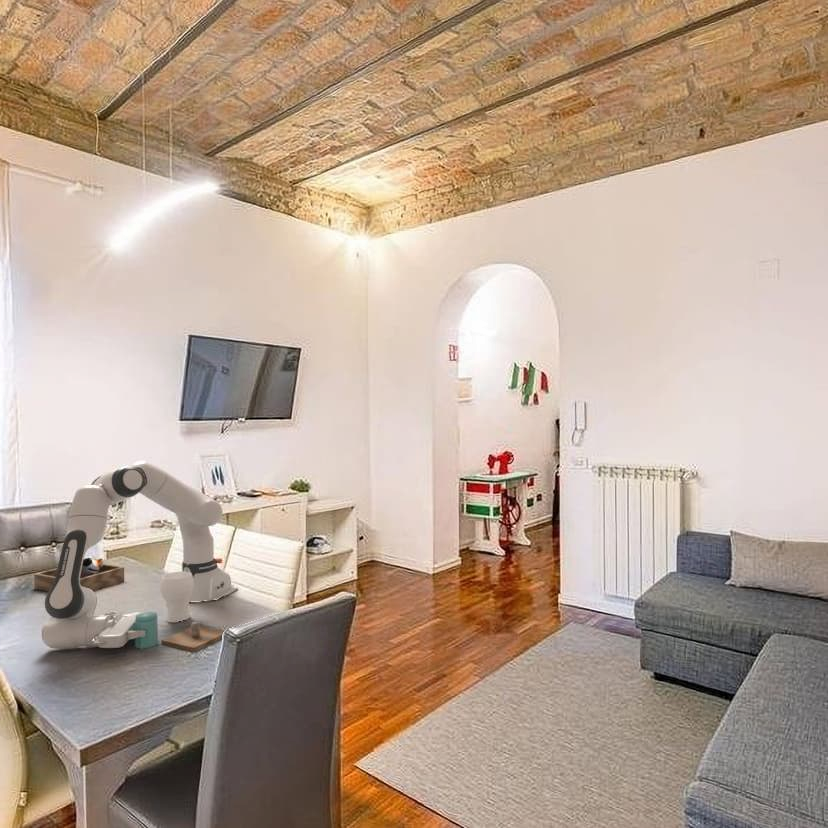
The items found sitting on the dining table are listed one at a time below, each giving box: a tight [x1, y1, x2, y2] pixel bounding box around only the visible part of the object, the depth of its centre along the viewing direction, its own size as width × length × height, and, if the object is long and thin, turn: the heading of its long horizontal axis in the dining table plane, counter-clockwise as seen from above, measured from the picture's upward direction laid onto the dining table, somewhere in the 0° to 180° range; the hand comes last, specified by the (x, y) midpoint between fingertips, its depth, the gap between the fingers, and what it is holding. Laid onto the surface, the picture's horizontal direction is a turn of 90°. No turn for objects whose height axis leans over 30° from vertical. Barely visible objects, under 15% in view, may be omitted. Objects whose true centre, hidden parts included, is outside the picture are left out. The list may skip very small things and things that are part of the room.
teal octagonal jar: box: [134, 611, 159, 649], centre depth 182 cm, size 6×6×9 cm
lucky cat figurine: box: [80, 555, 104, 579], centre depth 248 cm, size 15×12×14 cm
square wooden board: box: [160, 621, 225, 653], centre depth 185 cm, size 14×14×5 cm
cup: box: [160, 571, 194, 623], centre depth 204 cm, size 11×11×15 cm
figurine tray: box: [33, 563, 125, 593], centre depth 245 cm, size 22×25×6 cm
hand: (149, 627), depth 182 cm, fingers closed on teal octagonal jar, 6 cm apart
